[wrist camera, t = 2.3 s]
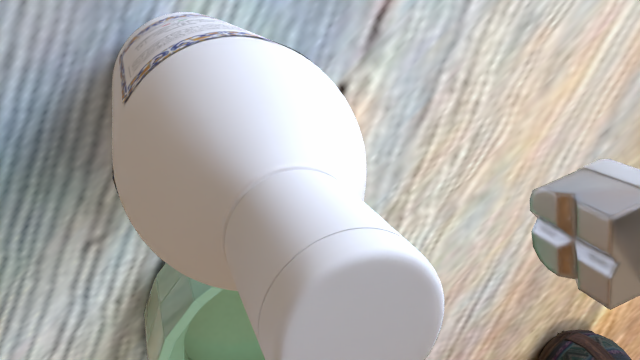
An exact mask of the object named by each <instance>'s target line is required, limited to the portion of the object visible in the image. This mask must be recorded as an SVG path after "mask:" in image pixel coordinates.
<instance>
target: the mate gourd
mask: <svg viewBox="0 0 640 360" xmlns="http://www.w3.org/2000/svg"><path fill="white" fill-rule="evenodd" d="M538 360H631V359H630V357H629V356H628V355H627V354H626V353H625V351H624V350H623V349H622V348H621V347H619V346H618V345H617V344H616V343H614V342H613V341H612V340H610V339H608V338H605V337H603V336H601V335H598V334H595V333H594V332H592V331H589V330H572V331H566V332H564V331H563V332H562V333H560V334H559V333H558V334H557V336H556V337H554V338H553V339H552V340H550V341H549V342H548V344H547V345H546V346H545V347H544V349H543V350H542V352H541V354H540V356H539V359H538Z"/></svg>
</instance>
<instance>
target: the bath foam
mask: <svg viewBox="0 0 640 360" xmlns="http://www.w3.org/2000/svg"><path fill="white" fill-rule="evenodd" d="M112 160H113V181H114V184H115V187H116V190H117V193H118V195H119V198H120V200H121V203H122V205H123V208H124V210H125V212H126V214H127V216H128V218H129V220H130V222H131V223H132V225H133V227H134V228H135V230H136V231H137V233H138V234H139V236H140V237H141V238H142V240H143V241H144V242H145V243H146V244H147V245H148V246H149V247H150V249H151V250H152V251H153V252H154V253H155V254H156V255H157V256H158V257H160V258H161V259H162V260H163V261H164V262H166V263H167V264H168V265H170V266H171V267H173V268H174V269H175V270H177V271H179V272H180V273H182V274H184V275H185V276H187V277H189V278H192V279H194V280H196V281H199V282H201V283H204V284H207V285H210V286H213V287H217V288H222V289H227V290H232V291H238V293H239V295H240V298H241V300H242V303H243V305H244V308H245V310H246V313H247V315H248V318H249V320H250V323H251V325H252V328H253V330H254V333H255V335H256V338H257V340H258V343H259V345H260V348H261V350H262V353H263V355H264V358H265V360H425V359H426V358H427V356H428V355H429V353H430V351H431V350H432V348H433V346H434V344H435V342H436V340H437V338H438V335H439V332H440V329H441V326H442V321H443V315H444V293H443V289H442V285H441V282H440V280H439V277H438V275H437V273H436V271H435V270H434V268H433V267H432V265H431V264H430V263H429V261H428V260H427V259H426V258H425V257H424V256H423V255H422V254H421V253H420V252H419V251H418V250H417V249H416V248H415V247H414V246H413V245H412V244H410V243H409V242H408V241H407V240H406V239H405V238H404V237H403V236H401V235H400V234H399V233H398V232H397V231H396V230H395V229H394V228H392V227H391V226H390V225H389V224H388V223H387V222H386V221H385V220H384V219H382V218H381V217H380V216H379V215H378V214H377V213H376V212H375V211H373V210H372V209H371V208H370V207H369V206H368V205H367V204H366V203H364V202H363V199H364V194H365V186H366V155H365V148H364V143H363V139H362V135H361V132H360V129H359V126H358V123H357V120H356V118H355V116H354V114H353V112H352V110H351V108H350V106H349V104H348V102H347V101H346V99H345V97H344V96H343V95H342V93H341V92H340V90H339V89H338V88H337V87H336V85H335V84H334V83H333V82H332V81H331V79H330V78H329V77H328V76H327V75H326V74H325V73H324V72H323V71H322V70H321V69H320V68H318V67H317V66H316V65H315V64H314V63H313V62H312V61H310V60H309V59H308V58H306V57H305V56H304V55H302V54H300V53H299V52H297V51H295V50H293V49H291V48H289V47H286V46H284V45H281V44H279V43H276V42H274V41H271V40H269V39H266V38H264V37H261V36H259V35H256V34H254V33H251V32H249V31H246V30H244V29H241V28H239V27H236V26H234V25H231V24H229V23H226V22H224V21H221V20H218V19H215V18H213V17H209V16H206V15H202V14H198V13H191V12H178V13H171V14H166V15H163V16H160V17H157V18H155V19H152V20H151V21H149V22H147V23H145V24H144V25H142V26H141V27H140V28H138V29H137V30H136V31H135V32H134V33H133V34H132V35H131V36H130V37H129V38H128V40H127V41H126V42H125V44H124V45H123V47H122V49H121V50H120V52H119V54H118V57H117V59H116V62H115V66H114V71H113V78H112Z"/></svg>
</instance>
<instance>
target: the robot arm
mask: <svg viewBox="0 0 640 360" xmlns="http://www.w3.org/2000/svg"><path fill="white" fill-rule="evenodd" d="M530 211H531V212H532V213H533V214H534V215H535V216H536V217H537V220H536V223H535V225H534V227H533V229H532V241H533V247H534V249H535V251H536V253H537V255H538V257H539V259H540V261H541V262H542V263H543V264H544V265H545V266H546V267H547V268H548V269H549V270H550V271H552V272H553V273H555V274H556V275H558V276H561V277H566V278H572V279H575V280H576V283H577V286H578V289H579V290H581V291H582V292H584V293H585V294H587V295H588V296H590V297H591V298H593V299H594V300H596V301H598V302H599V303H601V304H602V305H604V306H605V307H607V308H608V309H610V310H611V309H613V308H615V307H617V306H619V305H621V304H623V303H625V302H627V301H629V300H631V299H633V298H635V297H638V296H640V169H637V168H634V167H631V166H628V165H625V164H622V163H619V162H617V161H614V160H611V159H599V160H597V161H594V162H592V163H590V164H588V165H586V166H584V167H582V168H579V169H578V170H577V171H575V172H573V173H571V174H568V175H566V176H564V177H561V178H559V179H557V180H555V181H552V182H550V183H548V184H546V185H543V186H541V187H539V188H536V189H534V190H533V191H532V194H531V197H530Z"/></svg>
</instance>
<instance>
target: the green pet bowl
mask: <svg viewBox="0 0 640 360" xmlns="http://www.w3.org/2000/svg"><path fill="white" fill-rule="evenodd" d="M144 321H145V338H146V351H147V360H265V358H264V355H263V353H262V350H261V348H260V345H259V343H258V340H257V338H256V335H255V333H254V330H253V328H252V325H251V323H250V320H249V318H248V315H247V313H246V310H245V308H244V305H243V303H242V300H241V298H240V295H239V293H238V291H232V290H227V289H222V288H217V287H213V286H210V285H207V284H204V283H201V282H199V281H196V280H194V279H192V278H189V277H187V276H185V275H184V274H182V273H180V272H179V271H177V270H175V269H174V268H173V267H171V266H170V265H168V264H167V263H165V265H164V266H163V268H162V269H161V270H160V272H159V273H158V274H157V276H156V278H155V280H154V283H153V286H152V289H151V292H150V295H149V298H148V301H147V304H146V308H145V311H144Z"/></svg>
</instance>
